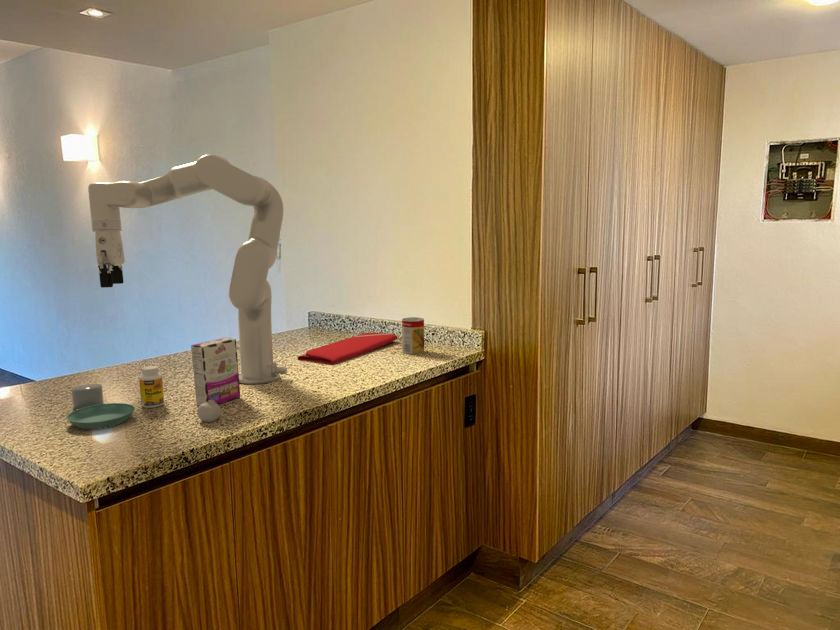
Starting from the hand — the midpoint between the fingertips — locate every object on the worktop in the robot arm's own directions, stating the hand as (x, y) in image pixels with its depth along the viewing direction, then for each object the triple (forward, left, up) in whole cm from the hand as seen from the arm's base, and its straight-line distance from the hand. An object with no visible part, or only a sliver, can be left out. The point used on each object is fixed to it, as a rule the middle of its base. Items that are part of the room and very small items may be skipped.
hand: (112, 285), depth 181 cm
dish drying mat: (-61, -45, -30) cm, 82 cm away
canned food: (-84, -43, -29) cm, 99 cm away
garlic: (-41, +33, -29) cm, 61 cm away
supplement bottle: (-21, +22, -29) cm, 43 cm away
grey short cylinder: (-4, +23, -29) cm, 38 cm away
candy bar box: (-37, +18, -29) cm, 51 cm away
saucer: (-15, +35, -30) cm, 48 cm away
